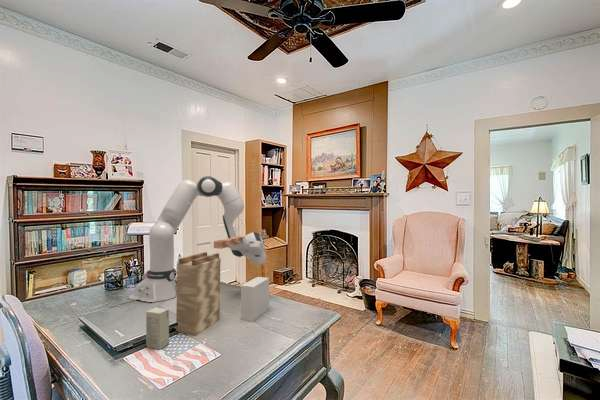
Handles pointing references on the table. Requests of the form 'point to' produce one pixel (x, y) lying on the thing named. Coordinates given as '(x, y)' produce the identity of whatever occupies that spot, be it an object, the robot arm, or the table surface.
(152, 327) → the skincare box
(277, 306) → the table surface
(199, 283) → the chute stand
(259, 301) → the shelf
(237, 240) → the bar
